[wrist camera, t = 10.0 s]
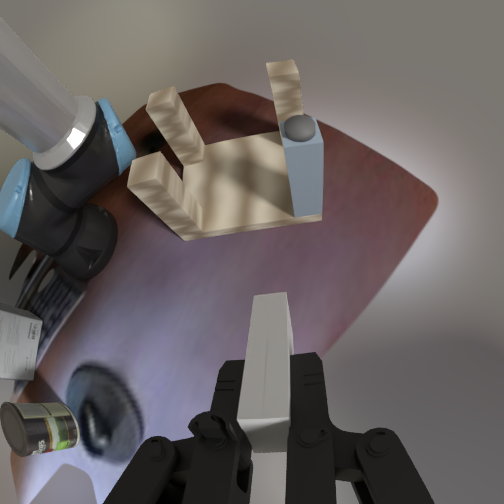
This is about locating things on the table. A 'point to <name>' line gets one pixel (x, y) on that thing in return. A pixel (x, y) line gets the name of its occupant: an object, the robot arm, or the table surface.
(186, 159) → the upturned stool
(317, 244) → the table surface
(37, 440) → the coffee can
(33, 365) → the hard drive box
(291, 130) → the pale blue upright post
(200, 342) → the table surface
